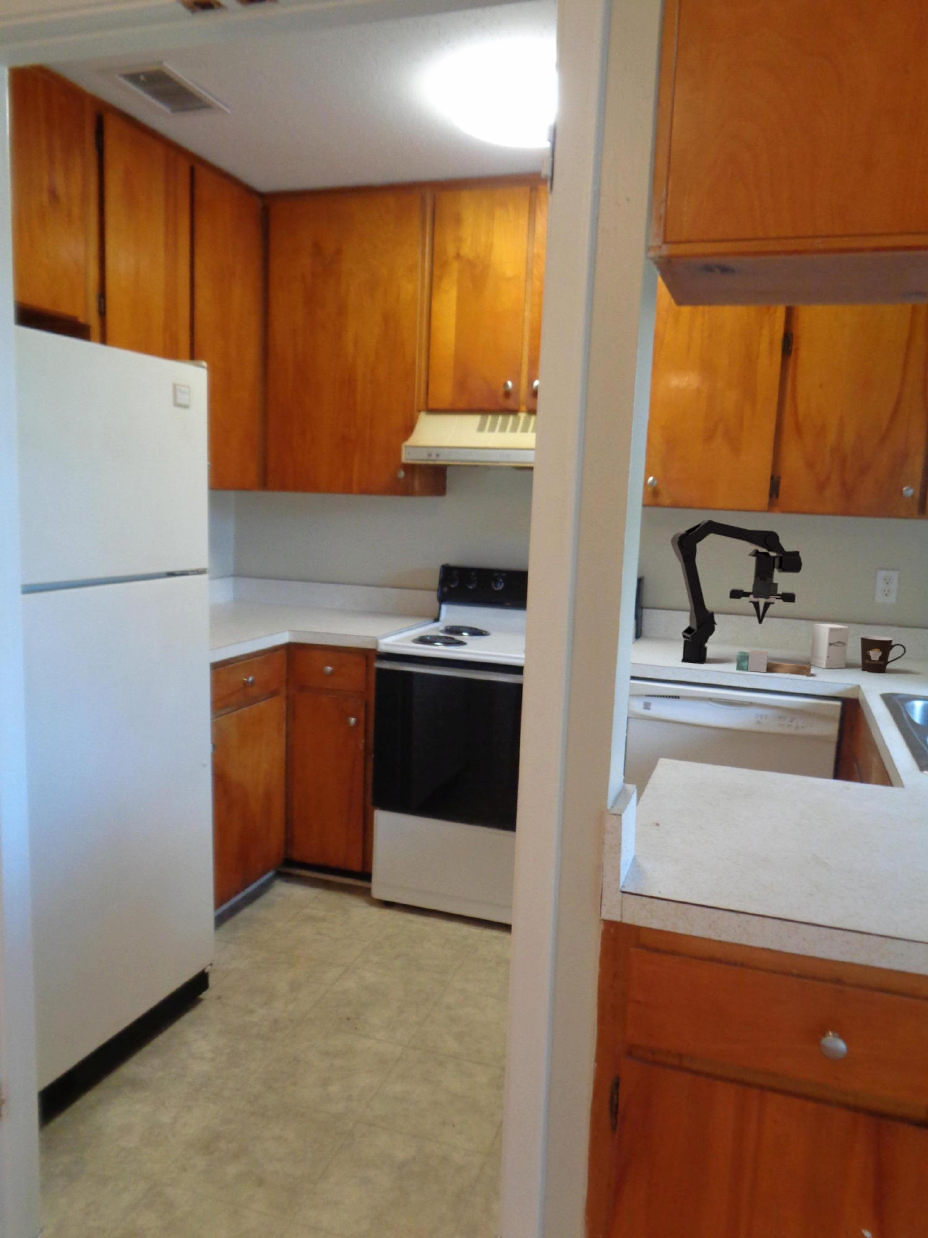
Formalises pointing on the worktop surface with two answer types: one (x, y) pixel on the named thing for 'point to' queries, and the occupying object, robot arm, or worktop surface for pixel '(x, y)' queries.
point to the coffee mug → (877, 653)
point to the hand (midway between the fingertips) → (760, 623)
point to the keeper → (757, 661)
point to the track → (773, 666)
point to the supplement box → (829, 645)
